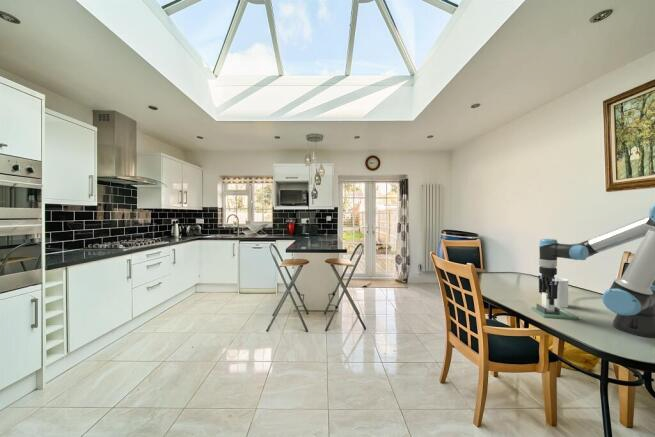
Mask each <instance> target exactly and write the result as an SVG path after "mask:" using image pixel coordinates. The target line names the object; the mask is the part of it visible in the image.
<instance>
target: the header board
mask: <svg viewBox="0 0 655 437" xmlns="http://www.w3.org/2000/svg"><path fill="white" fill-rule="evenodd" d="M531 310H532V311H533V312H535V313H537V315H540V316H541V317H542V318H546V319H548V318H549V319H564V320H580V317H579V316H578V315H576V314H574V313H571V312H569V311H568V310H566V309H564V308H560V307H556V306H555V312H546V308H545V307H543V306H542V304H539V303H536V307H532V306H531Z"/></svg>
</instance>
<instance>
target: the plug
mask: <svg viewBox="0 0 655 437" xmlns="http://www.w3.org/2000/svg"><path fill="white" fill-rule="evenodd" d="M547 297H548V290H546V293H545V292H542V295H541V306H543V307H545V308H546V312H555V307H556V306H555V299H554V311H552V310H547Z"/></svg>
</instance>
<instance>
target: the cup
mask: <svg viewBox="0 0 655 437" xmlns="http://www.w3.org/2000/svg"><path fill="white" fill-rule="evenodd" d="M554 278H555V281H558V282H559V283H558V291H557V299H555V307H557V308H561V309H564V308H565V309H567V308H569V279H567V278H563V277H555V276H554Z"/></svg>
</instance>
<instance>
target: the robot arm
mask: <svg viewBox="0 0 655 437" xmlns="http://www.w3.org/2000/svg"><path fill="white" fill-rule="evenodd" d="M648 212H649V215H648V216H645V217H643V218H640V219H637V220H635V221H632V222H630V223H627V224H625V225H623V226H620V227H617V228H615V229H613V230H610V231H607V232H605V233H602V234H599V235H598V236H594V237H592V238H590V239H588V240H585V241H582V242H579V243H571V244H569V243H558V239H554V238H542V239H539V245H538V246H539V250H538V251H539V259H538V263H539V264H538V265H539V270H538V272H539V273H540V274H541V275H538V276H537V278H538V292H539V294H540V295H541V296H542V292H545V293H546V290H548V297H547V310H552V311H554V299H557V291H558V283H559V282H558V281H555V278H554V277H555V276H556V275H558V268H557V267H558V259H559V258H560V259H561V258H562V259H568V260H573V261H586V260H587V259H588V258H590V257H591V256H594V255H596V254H598V253H601V252H605V251H607V250H609V249H610V250H611V249H614V248H616V247H619V246H622V245H625V244H627V243H630V242H633V241H636V240H639V239H641V238H643V239H642V241H641V243H640V244H639V246H638V248H637V250H636V251H635V253H634V255H633V257H632V258H631V260H630V262H629V263H628V266H627V268H625V271H624V273H623V274H622V276H621V277H619V278H615V279H614V281H613V282H612V284H611V285H610V287H609V289H606V290H605V291H604V292H603V294H602V297H601V299H602V300H601V301H602V303H603V304H604V306H605V307H606V308H607V309H608V310H609V311H611V312H613V313H615V314H616V315H615V317H614V319H613V321H612V326H613V327H614V328H615V329H617V330H619V331H622V332H624V333H628V334H631V335H637V336H640V337H646V338H655V285H654V284H653V283H654V282H655V202H654V203H653V204H652V205H651V207H650V209H649V211H648Z"/></svg>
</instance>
